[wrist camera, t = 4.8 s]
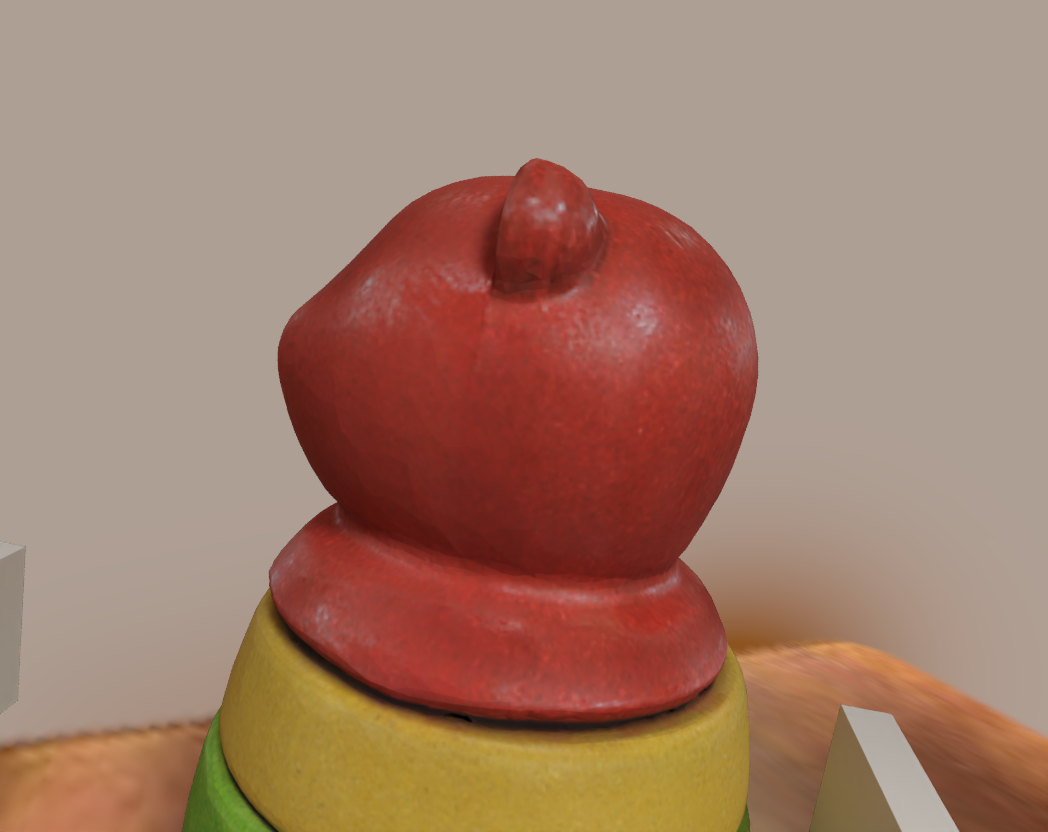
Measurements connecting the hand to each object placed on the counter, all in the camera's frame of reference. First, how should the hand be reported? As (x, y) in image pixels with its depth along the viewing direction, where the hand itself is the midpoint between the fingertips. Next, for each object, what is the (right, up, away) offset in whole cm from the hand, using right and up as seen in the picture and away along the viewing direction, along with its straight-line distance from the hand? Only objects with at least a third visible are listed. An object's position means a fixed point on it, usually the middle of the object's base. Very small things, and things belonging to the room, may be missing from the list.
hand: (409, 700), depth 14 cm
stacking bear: (-1, -9, +3) cm, 10 cm away
